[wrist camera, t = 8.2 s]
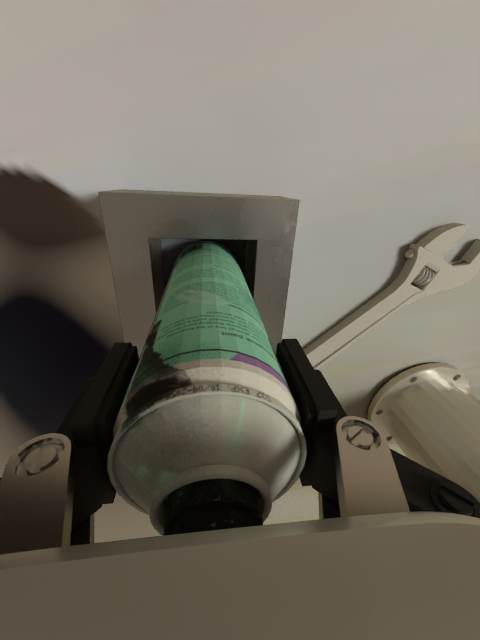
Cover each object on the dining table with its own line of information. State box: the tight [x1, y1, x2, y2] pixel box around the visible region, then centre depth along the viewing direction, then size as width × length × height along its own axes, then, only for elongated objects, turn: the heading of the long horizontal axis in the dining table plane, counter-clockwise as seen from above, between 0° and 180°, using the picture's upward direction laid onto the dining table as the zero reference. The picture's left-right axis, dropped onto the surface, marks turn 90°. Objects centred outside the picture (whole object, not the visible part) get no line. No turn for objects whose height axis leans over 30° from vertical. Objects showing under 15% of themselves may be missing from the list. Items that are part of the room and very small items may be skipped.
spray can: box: [107, 241, 307, 536], centre depth 14 cm, size 6×6×20 cm
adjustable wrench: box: [303, 223, 480, 370], centre depth 27 cm, size 25×6×2 cm, turn 127°
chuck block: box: [98, 190, 300, 358], centre depth 21 cm, size 12×12×5 cm
